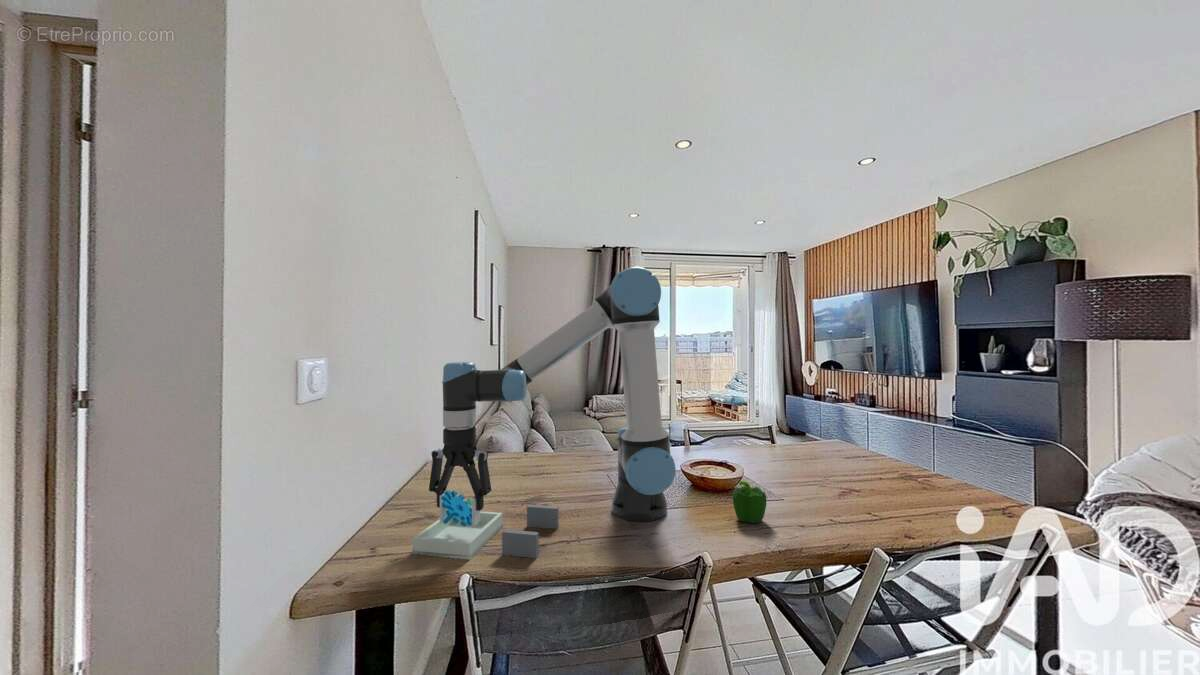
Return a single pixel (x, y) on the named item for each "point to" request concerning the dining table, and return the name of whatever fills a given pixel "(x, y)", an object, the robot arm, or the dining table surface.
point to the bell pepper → (749, 503)
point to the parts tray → (457, 537)
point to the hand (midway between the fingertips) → (460, 522)
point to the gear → (457, 508)
